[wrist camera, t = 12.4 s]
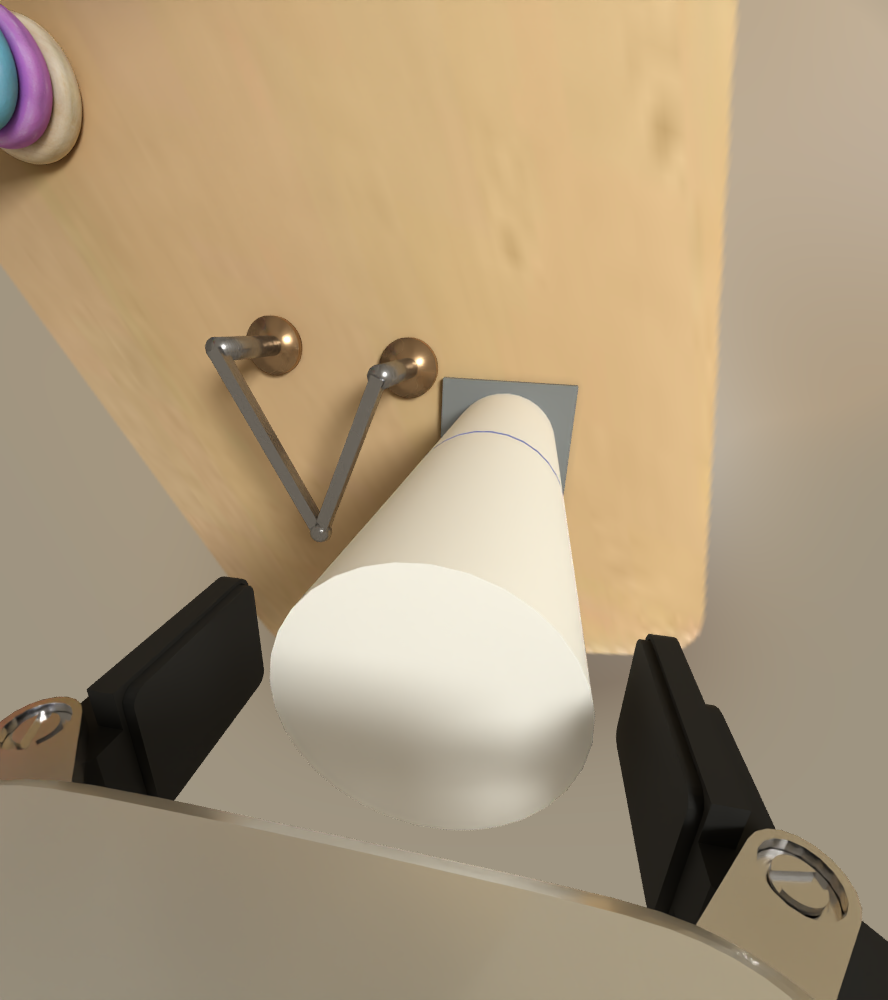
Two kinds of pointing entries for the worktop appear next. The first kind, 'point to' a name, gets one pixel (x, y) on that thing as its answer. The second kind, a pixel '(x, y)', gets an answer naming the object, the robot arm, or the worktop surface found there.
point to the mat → (547, 397)
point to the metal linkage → (279, 351)
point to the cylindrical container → (448, 637)
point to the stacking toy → (35, 93)
